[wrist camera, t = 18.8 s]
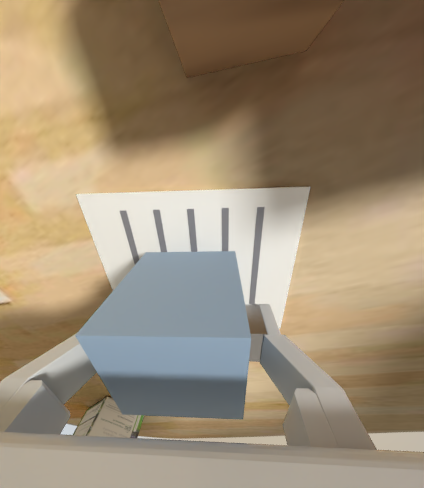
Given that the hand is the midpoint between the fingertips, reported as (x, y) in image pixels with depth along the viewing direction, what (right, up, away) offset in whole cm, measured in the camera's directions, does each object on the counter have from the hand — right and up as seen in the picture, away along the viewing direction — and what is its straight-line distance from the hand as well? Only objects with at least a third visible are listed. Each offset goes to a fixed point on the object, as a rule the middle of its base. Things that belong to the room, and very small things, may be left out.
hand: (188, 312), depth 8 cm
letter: (0, +2, +3) cm, 4 cm away
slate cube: (0, +1, +2) cm, 2 cm away
